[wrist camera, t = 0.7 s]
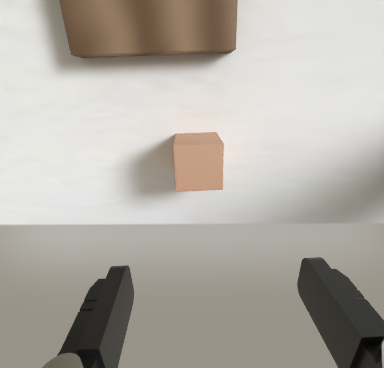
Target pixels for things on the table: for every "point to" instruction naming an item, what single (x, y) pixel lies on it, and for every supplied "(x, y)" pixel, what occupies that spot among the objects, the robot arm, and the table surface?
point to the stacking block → (198, 161)
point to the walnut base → (149, 27)
